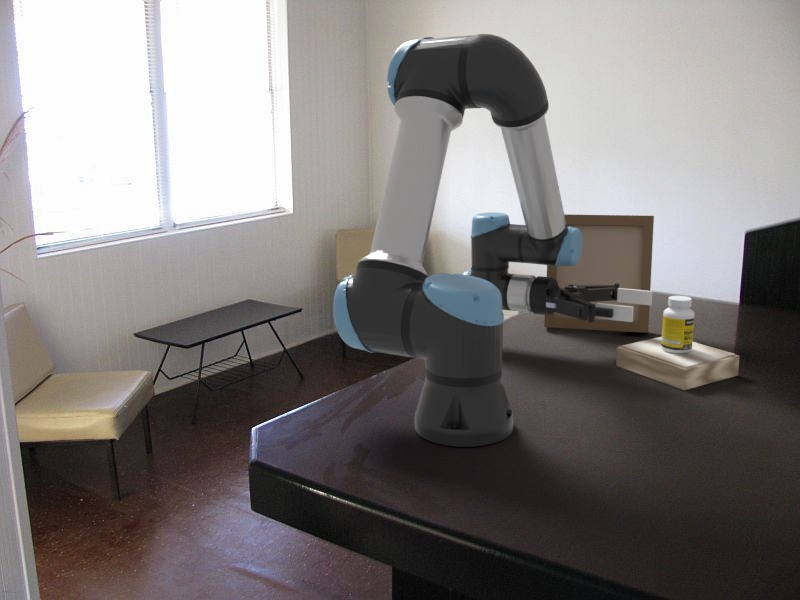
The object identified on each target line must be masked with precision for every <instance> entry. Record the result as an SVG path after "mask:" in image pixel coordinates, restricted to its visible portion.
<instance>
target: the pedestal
mask: <svg viewBox="0 0 800 600" xmlns="http://www.w3.org/2000/svg"><path fill="white" fill-rule="evenodd" d="M661 339H662V336H659V337H654V338H650V339H645V340H640V341H636V342H632V343H627V344H622V345H620V346H617V347H616V358H615V359H616V362H615V366H616V367H618V368H621V369H624V370H627V371H629V372H632V373H635V374H638V375H641V376H644V377H646V378H649V379H651V380H655V381H657V382H660V383H663V384H666V385H668V386H671V387H673V388H677V389H679V390H682V391H687V390H691V389H694V388H698V387H701V386H704V385H708V384H712V383H715V382H719V381H723V380H726V379H730V378H734V377H737V376H739V367H740V355H739V354H738V355H737V354H736V353H734V352H730V351H726V350H723V349H719V348H716V347H712V346H709V345H706V344H701V343H700V342H696V341H693V343H692V350H691V351H690V352H688V353H682V354H679V353H671V352H666V351H664V350H663V349H662V348H661Z"/></svg>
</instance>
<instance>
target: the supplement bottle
mask: <svg viewBox="0 0 800 600" xmlns="http://www.w3.org/2000/svg"><path fill="white" fill-rule="evenodd" d="M692 300H693V299H692V298H691V297H690V296H685V295H671V296H668V301H667V305H668V307H667V308H665V309H664V310H663V312H662V313H663V314H662V326H661V327H662V328H661V337H662V339H661V348H662V349H663V350H664V351H666V352H671V353H679V354H682V353H688V352H690V351H691V350H692V343H693V342H694V329H695V328H694V327H695V319H696V318H695V316H696V315H695V311H693V309H691V307H692V304H693V301H692Z"/></svg>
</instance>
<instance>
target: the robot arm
mask: <svg viewBox="0 0 800 600" xmlns="http://www.w3.org/2000/svg"><path fill="white" fill-rule="evenodd" d="M386 81H387V82H388V86H387V88H386V89H387V93H388V97H389V100H390V102H391V103H392V105H393V106H394V107H393V109H394V112H395V113H396V116H397V117H398V118H399V120H400V121H399V125H398V130H397V135H396V139H395V144H394V149H393V151H392V152H393V153H392V157H391V160H390V165H389V168H388V174H387V178H386V183H385V187H384V191H383V196H382V200H381V203H380V208H379V212H378V218H377V220H376V221H377V222H376V226H375V230H374V233H373V234H374V235H373V238H372V242H371V247H370V252H369V253H368V254H367V255H365V256H364V257H362V258H360V259H359V260H358V262H357V266H356V270H355V274H350V275H348V276H345V277H343V278H342V279H341V281H340V282H339V283H338V284H337V287H336V289H335V292H334V297H333V302H332V303H333V308H332V311H333V319H334V320H333V321H334V324H335V327H336V330H337V333H338V335H339V337H340V338H341V339H342V341H343V342H344V343H345V344H346V345H347V346H349V347H350V348H353V349H357V350H362V351H366V352H369V353H370V354H371V353H372V354H374V353H381V354H388V355H394V356H401V357H408V358H415V359H422V360H424V363H425V364H424V367H425V368H424V370H425V371H424V372H425V377H424V384H423V386H422V390H421V393H420V396H419V400H418V402H417V407H416V408H415V412H414V430H415V432H416V434H417V435H418V436H419V437H421V439H424V440H426V441H427V442H428V441H429V442H432V443H434V444H438V445H442V446H448V447H449V446H450V447H461V448H462V447H463V448H471V447H472V448H473V447H481V446H487V445H492V444H495V443H499V442H501V441H504V440H505V439H507V438H508V437H509V436H510V435H511V434H512V433H513V430H514V415H513V414H514V413H513V410H512V407H511V404H510V402H509V401H510V400H509V398H508V395H507V393H506V392H507V391H506V388H505V386H504V383H503V382H504V381H503V339H504V338H503V334H504V333H503V332H504V330H503V329H504V327H503V326H504V318H505V315H504V311H510V312H511V311H512V312H517V314H518V315H523V314H524V313H527V314H531V313H533V314H535V315H543V316H545V315H551V314H553V313H554V312H556V313H560V314H563V315H567V316H570V317H574V318H577V319H581V320H588V322H595V316H596V318H600V319H608V320H617V321H626V322H633V309H634V307H633V306H623V305H614V304H604V303H597V304H596V307H595V304H592V303H590V302H597V301H613V300H615V301H616V300H617V302H622V303H631V304H641V305H650V306H652V304H653V303H652V302H653V290H650V291H647V290H636V289H626V288H619V284H618V283H615V285H572V284H570V285H568V286H566V287H565V288H562V289H561V288H559V286H558V283H557V280H556V279H555V278H553V277H547V276H541V275H539V276H536V275H534V274H533V275H532V274H531V275H530V274H523V273H522V274H520V273H509V267H510V265H509V264H510V263H516V264H517V263H518V264H520V263H521V264H532V265H544V266H547V265H552V266H574V265H576V264H577V263H578V261H579V259H580V257H581V254H582V247H583V238H582V233H581V231H580V230H579V229H578V228H573V227H567V225H566V221H565V216H564V214H565V211H564V206H563V201H562V195H561V191H560V186H559V182H558V176H557V170H556V166H555V161H554V156H553V151H552V147H551V141H550V136H549V131H548V127H547V122H546V117H545V116H546V114H547V113H548V111H549V108H550V107H549V101H548V94H547V91H546V90H547V89H546V87H545V85H544V83H543V79H542V78H541V76H540V74H539V72H538V70H537V69H536V67H535V66H534V64H533V63H532V61H531V60H530V59H529V58H528V56H527V55H526V54H525V53H524V52H523V51H522V50H521V49H520V48H519V47H517V46H516V45H515V44H514V43H512V42H511V41H509V40H507V39H506V38H504V37H501V36H499V35H496V34H492V33H491V34H490V33H478V34H475V35H474V34H473V35H461V36H448V37H447V36H446V37H433V36H425V37H421V38H418V39H411V40H408V41H406V42H403V43H402V44H400V45H399V47H398V48H397V49H396V50H395V51H394V53H393V55H392V57H391V59H390V61H389V65H388V70H387V76H386ZM466 109H486V110H488V111H489V112H490V116H491V120H492V122H493V124H495V126H497V127H499V128H500V130H501V135H502V138H503V141H504V145H505V150H506V154H507V158H508V161H509V165H510V169H511V172H512V178H513V182H514V184H515V189H516V192H517V197H518V199H519V204H520V208H521V213H522V216H523V221H524V223H525V224H514V223H511V221H510V218H509V215H508V214H507V213H504V212H503V213H502V212H481V213H477V214H475V215H474V216H473V217H472V220H471V234H470V241H471V242H470V243H471V245H470V246H471V247H470V248H471V254H470V255H471V268H470V269H467V270H464V271H463V273H449V272H447V273H443V272H442V273H435V274H431V275H429V274H428V272H427V271H426V269H425V268H424V266H423V262H424V258H425V253H426V250H427V244H428V239H429V234H430V230H431V226H432V221H433V217H434V212H435V211H434V210H435V207H436V203H437V197H438V193H439V187H440V184H441V179H442V176H443V175H442V173H443V170H444V165H445V161H446V156H447V151H448V148H449V147H448V146H449V143H450V137H451V132H452V131H455V130H456V129H458V128H459V127H460V126H461V125H462V123H463V119H464V117H465V116H464V115H465V111H466ZM611 291H612V294H611Z"/></svg>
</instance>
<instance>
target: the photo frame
mask: <svg viewBox="0 0 800 600" xmlns="http://www.w3.org/2000/svg"><path fill="white" fill-rule="evenodd" d="M564 216H565V221H566V225H567V227H573V228H578V229H579V230H580V231H581V233H582V238H583V247H582V254H581V257H580V259H579V261H578V263H577V264H576V265H574V266H552V265H546V277H553V278H555V279H556V280H557V283H558V286H559V288H561V289H562V288H565V287H566V286H568V285H570V284H572V285H615V283H618V284H619V288H626V289H636V290H647V291H651V285H652V283H651V282H652V266H653V265H652V264H653V262H652V260H653V242H654V241H653V240H654V239H653V238H654V225H655V224H654V221H655V220H654V219H655V216H654V215H633V214H632V215H628V214H627V215H626V214H625V215H624V214H623V215H622V214H621V215H620V214H619V215H617V214H616V215H615V214H565V213H564ZM611 294H612V291H611ZM590 303H592V304H595V307H596V304H597V303H604V304H614V305H623V306H633V307H634V309H633V322H626V321H617V320H608V319H600V318H596V316H595V322H588V320H581V319H577V318H574V317H570V316H567V315H563V314H560V313H556V312H554V313H553V314H551V315H544V323H543V324H544V325H543V327H544V328H555V329H573V330H574V329H577V330H592V331H593V330H594V331H611V332H612V331H613V332H614V331H615V332H628V333H629V332H631V333H645V334H647V333H649V329H650V328H649V327H650V324H649V323H650V306H651V305H641V304H631V303H622V302H617V300H616V301H615V300H613V301H597V302H590Z"/></svg>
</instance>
